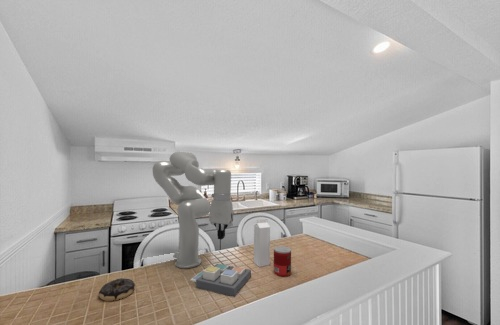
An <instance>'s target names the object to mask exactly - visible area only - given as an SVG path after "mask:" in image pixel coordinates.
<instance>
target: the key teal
mask: <svg viewBox="0 0 500 325" xmlns="http://www.w3.org/2000/svg"><path fill="white" fill-rule="evenodd" d="M217 264H218V265H217V266H216V267H218V268H220V273H223V272H224V271H225V270H226V269H229V266H230V265H227V264H222V263H217Z"/></svg>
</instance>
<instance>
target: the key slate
mask: <svg viewBox="0 0 500 325" xmlns="http://www.w3.org/2000/svg"><path fill="white" fill-rule="evenodd" d="M237 275H238V271H233V270H228V269H226V270H225V271H224V272H223V273H222V274H221V283H224V284H228V285H233V284H234V283H235V282H236V280H237Z"/></svg>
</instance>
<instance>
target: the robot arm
mask: <svg viewBox="0 0 500 325" xmlns="http://www.w3.org/2000/svg"><path fill="white" fill-rule="evenodd" d="M199 164H200V163H199V161H198V160H197V157H196V155H195V154H194V153H192V152H185V151H176V152H173V153H172V154H170V156H169V160H159V161H156V162H155V163H153V165H152V176H153V179H154V180H155V182H156V183H157V184H158V185H159V187H160V188H162V190H163V191H164V192H165V193H166V195H167V197H168V198H169V199H170V200H171V202H172V203H173V204H174V205H176V206H177V216H178V225H179V227H178V228H179V229H178V230H179V231H178V234H179V235H178V251H175V252H174V254H173V255H172V257H173V258H174V259H175V258H176V261H175V263H174V264H175V267H177V268H179V269H192V268H195V267H197V266H198V267H199V265H201V264H202V259H201V258H200V257H199V243H200V242H199V235H200V234H199V233H200V229H199V224H198V222H197V220H196V219H197V218H202V217H205V216H207V215H209V217H208V220H209V222H210V225H212V226H214V227H215V229H216V230H217V233H216V234H217V240H223V239H224V238H225V237H226V230H227V228H230V227H233V225H234V223H233V221H234V207H233V201H232V199H231V198H232V197H231V190H232V184H231V183H232V172H231V171H230V170H229V169H217V168H199V167H200V165H199ZM181 175H184V176H185V178H186V180H188V181H189V182H191V183H192V184H193V185H182V184H181V183H179V181H178V180H177V179H176V178H174V177H175V176H181ZM173 176H174V177H173ZM194 185H196V186H213V193H212V194H211V197H212V198H213V199H211V203H210V202H209V199H208V198H206V196H205V195H204V194H203V193H202V192H201V190H200V189H198V187H196V186H194Z"/></svg>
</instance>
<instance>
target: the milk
mask: <svg viewBox="0 0 500 325" xmlns="http://www.w3.org/2000/svg"><path fill="white" fill-rule="evenodd" d="M270 251H271V226H270V224H269V223H268V219H258V220H256V223H255V224H254V225H253V263H254V264H255V266H258V267H259V268H261V267H266V266H270V263H271V262H270V261H271V252H270Z"/></svg>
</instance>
